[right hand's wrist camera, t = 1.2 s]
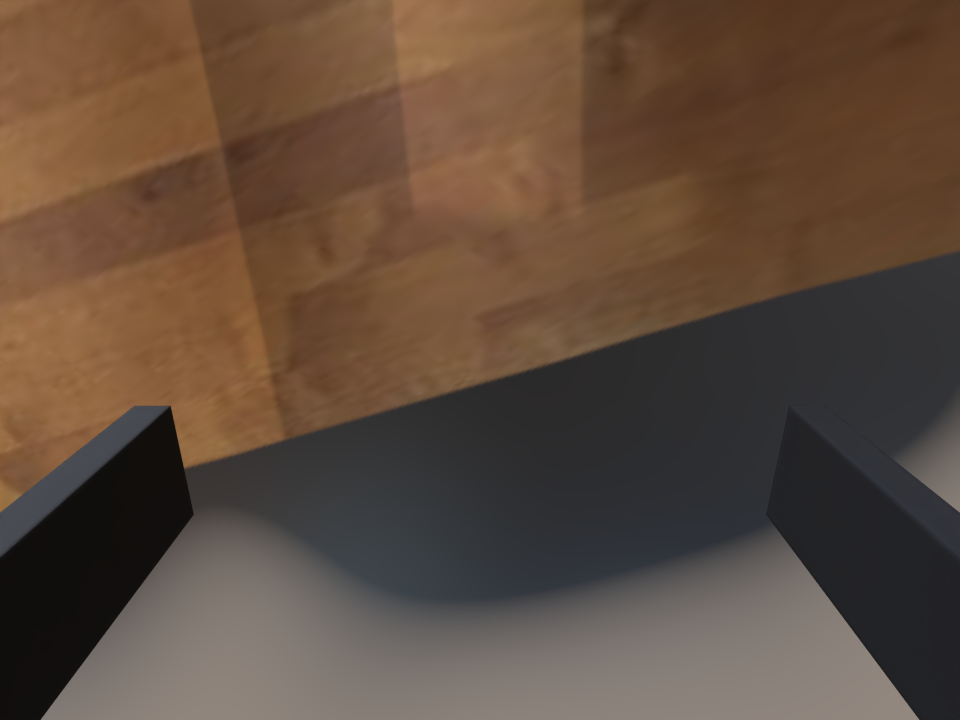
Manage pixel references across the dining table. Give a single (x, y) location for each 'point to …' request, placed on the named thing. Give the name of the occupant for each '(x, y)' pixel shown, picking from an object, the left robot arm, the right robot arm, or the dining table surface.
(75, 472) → the right robot arm
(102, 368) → the dining table surface
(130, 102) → the dining table surface
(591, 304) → the dining table surface
